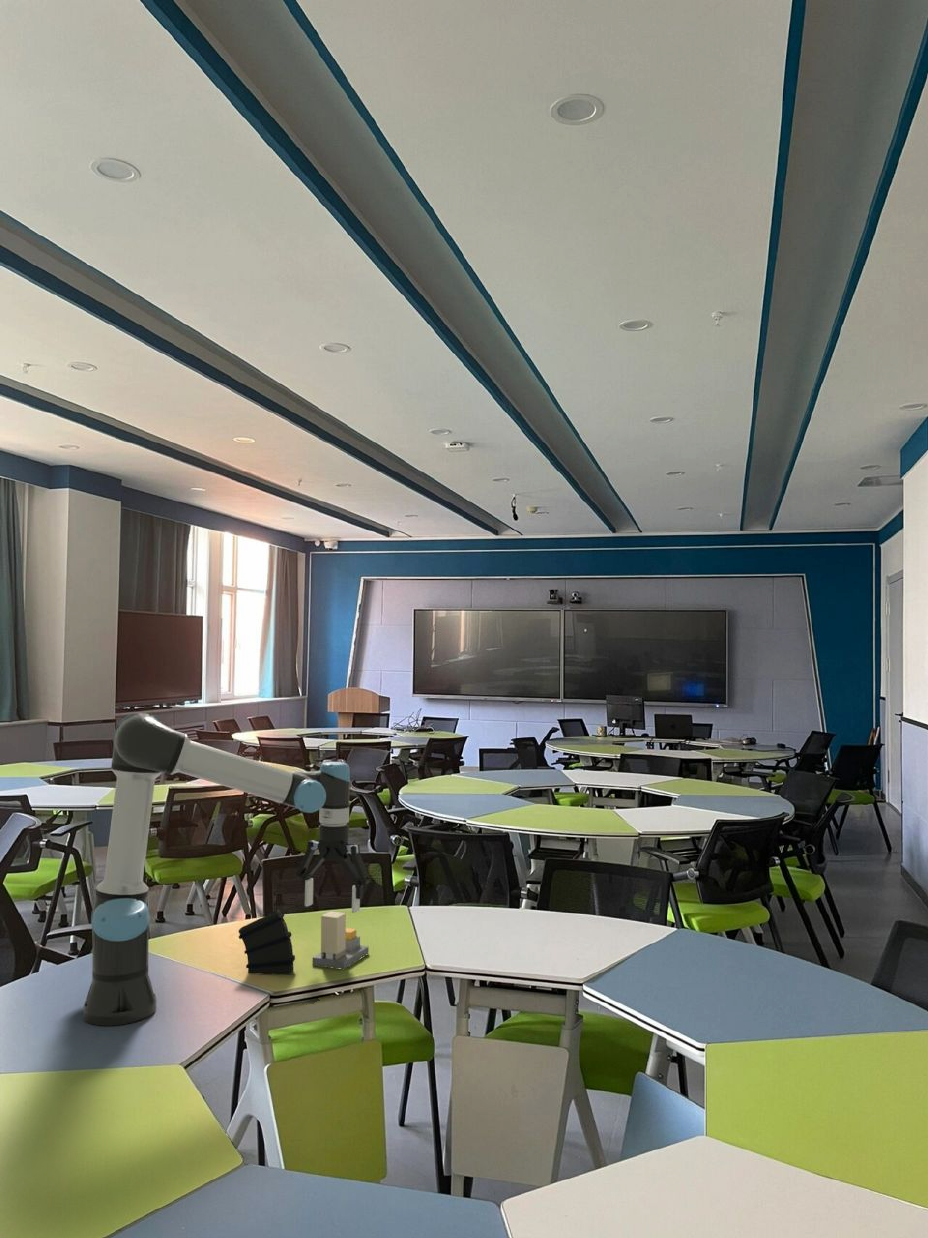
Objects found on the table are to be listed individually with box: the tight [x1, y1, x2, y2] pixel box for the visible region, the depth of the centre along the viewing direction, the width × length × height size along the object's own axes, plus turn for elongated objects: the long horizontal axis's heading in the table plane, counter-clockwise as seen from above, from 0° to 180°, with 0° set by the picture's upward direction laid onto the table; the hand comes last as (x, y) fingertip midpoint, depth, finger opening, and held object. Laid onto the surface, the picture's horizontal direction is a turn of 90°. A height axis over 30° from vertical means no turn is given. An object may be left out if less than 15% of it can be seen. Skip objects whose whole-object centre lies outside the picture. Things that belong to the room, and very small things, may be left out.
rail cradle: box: [312, 935, 370, 970], centre depth 244 cm, size 9×13×4 cm
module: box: [320, 910, 347, 960], centre depth 241 cm, size 5×4×10 cm
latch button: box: [346, 927, 357, 940], centre depth 248 cm, size 3×3×3 cm
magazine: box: [238, 909, 296, 975], centre depth 235 cm, size 4×13×15 cm, turn 88°
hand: (331, 908), depth 241 cm, fingers open, 13 cm apart
